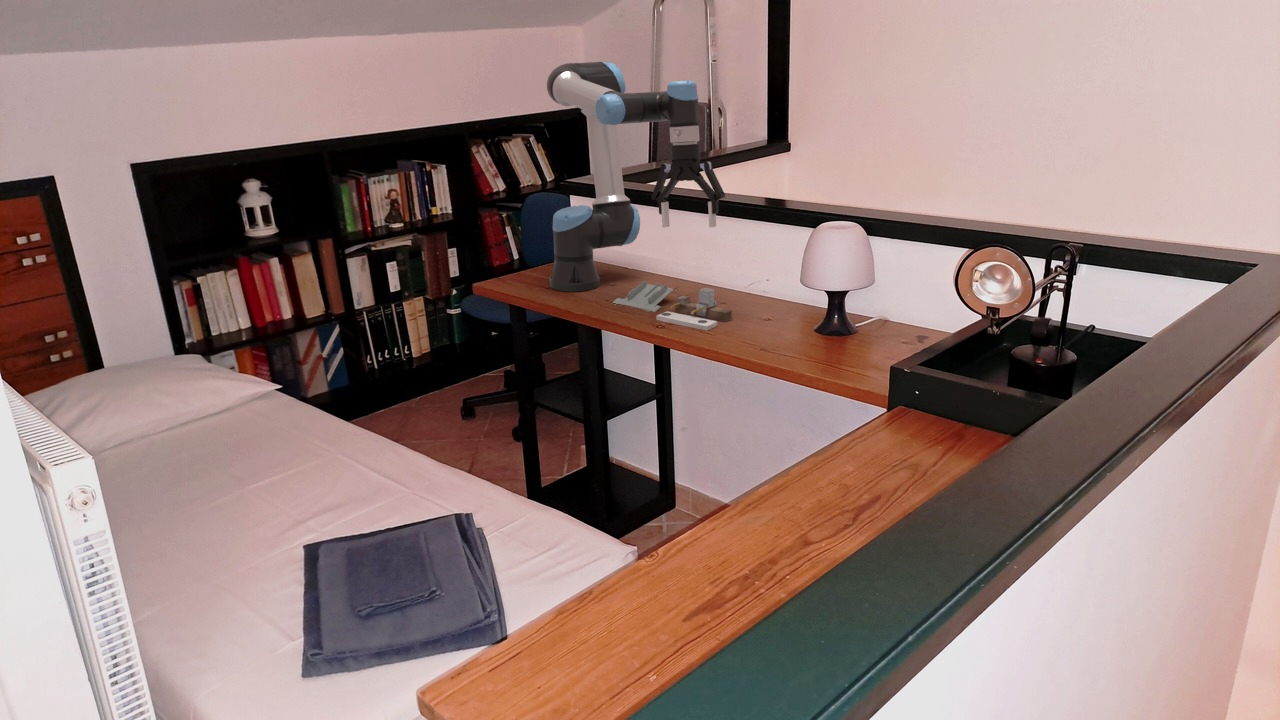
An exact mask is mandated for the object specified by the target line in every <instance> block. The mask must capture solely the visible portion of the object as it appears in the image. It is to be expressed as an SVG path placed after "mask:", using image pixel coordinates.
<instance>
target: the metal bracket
mask: <svg viewBox="0 0 1280 720" xmlns="http://www.w3.org/2000/svg"><path fill="white" fill-rule="evenodd" d="M673 291H674V288H671V287H668V286H667V285H666V284H663V285H662V286H661V285H660V282H656V284H655V285H654V284H650V283H649V284H648V283H647V282H646V281H645V280H642V281H641V283H640V285H639V286H636V287H634V288H633V289H632V290H630V291H629V292H628V293H627V295H626V297H624V298H621V297H617V298H616V299H614V301H612V304H613V303H616V304H622V305H627V306H631V307H630V308H632V307H635V308H634V309H637V308H639V310H642V309H643V310H644V311H646V312H650V311H653V312H652V313H656V312H658V310H660V309H662V307H661V305H658V304H659V303H661V302H662V301H663V300H664V298H666V297H667V296H668V295H670V293H672V292H673ZM616 304H615V305H616ZM622 305H621V306H622ZM627 306H626V307H627ZM643 310H642V311H643Z"/></svg>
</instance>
